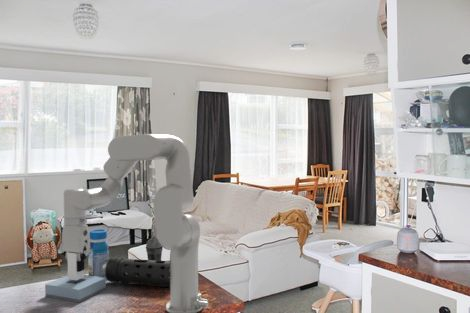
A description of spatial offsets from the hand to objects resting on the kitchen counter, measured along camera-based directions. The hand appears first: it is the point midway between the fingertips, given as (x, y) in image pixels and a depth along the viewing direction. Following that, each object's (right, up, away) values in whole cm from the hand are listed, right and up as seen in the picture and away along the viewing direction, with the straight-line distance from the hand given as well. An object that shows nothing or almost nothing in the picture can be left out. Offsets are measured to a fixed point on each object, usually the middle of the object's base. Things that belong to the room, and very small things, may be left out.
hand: (75, 269), depth 154 cm
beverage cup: (+25, -8, +22) cm, 35 cm away
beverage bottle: (+3, -8, +16) cm, 19 cm away
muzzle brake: (+22, -9, +9) cm, 25 cm away
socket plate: (0, -9, 0) cm, 9 cm away
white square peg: (0, -3, 0) cm, 3 cm away
